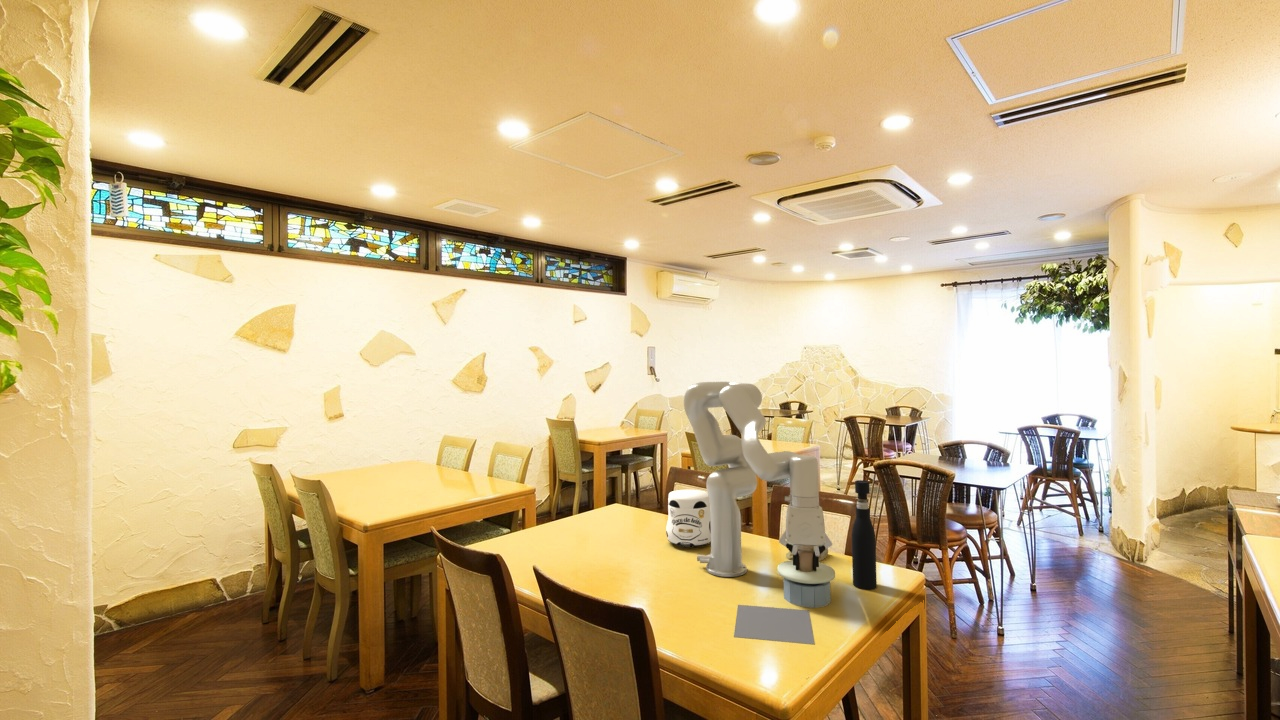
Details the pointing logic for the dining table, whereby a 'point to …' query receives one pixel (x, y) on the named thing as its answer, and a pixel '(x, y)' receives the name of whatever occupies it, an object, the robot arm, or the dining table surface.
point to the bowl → (807, 593)
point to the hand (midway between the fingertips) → (805, 568)
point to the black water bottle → (863, 542)
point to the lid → (806, 570)
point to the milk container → (688, 518)
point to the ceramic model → (822, 555)
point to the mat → (774, 624)
